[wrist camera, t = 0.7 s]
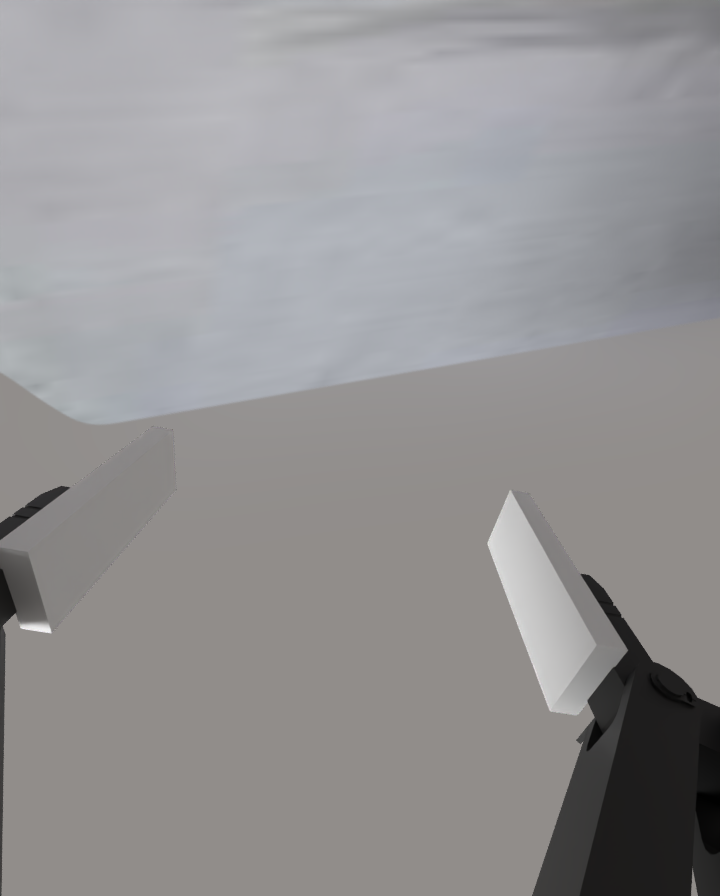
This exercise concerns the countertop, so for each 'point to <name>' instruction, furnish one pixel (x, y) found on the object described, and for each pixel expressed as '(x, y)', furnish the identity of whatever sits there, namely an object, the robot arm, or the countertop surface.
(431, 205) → the countertop surface
